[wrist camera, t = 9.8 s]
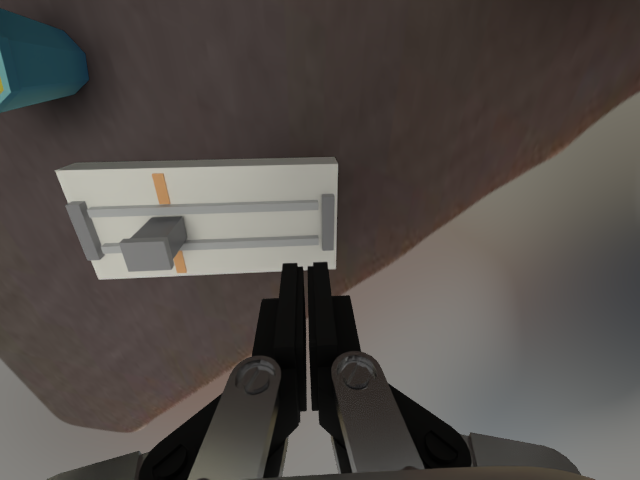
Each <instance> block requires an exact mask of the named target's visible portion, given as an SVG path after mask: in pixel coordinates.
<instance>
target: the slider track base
mask: <svg viewBox="0 0 640 480" xmlns="http://www.w3.org/2000/svg"><path fill="white" fill-rule="evenodd" d="M55 172H56V174H57V177H58V179H59V182H60V184H61V187H62V189H63V192H64V194H65V197H66V199H67V202H68V204H66V205H65V206H66V209H67V211H68V214H69V216H70V219H71V221H72V224H73V226H74V228H75V231H76V233H77V236H78V238H79V241H80V243H81V246H82V248H83V251H84V253H85V256H86V258H87V260H88V261H89V260H91V262H92V264H93V267H94V269H95V272H96V274H97V277H98V279H99V280H100V279H123V278H145V277H167V276H189V275H211V274H233V273H255V272H277V271H282V265H283V263H297V265H298V267H301V266H303V270H308V266H313V262H327V263H328V269H336V238H337V190H338V163H337V161H336V159H335V157H306V158H261V159H217V160H172V161H127V162H83V163H73V164H71V165H68V166H65V167H63V168H60V169H58V170H55ZM179 216H183V220H184V225H185V229H186V233H187V239H186V241H185V242H184V244H183V245H182V247H181V248H180V250H179V251H178V253H177V254H176V256H175V257H174V259H173V261H174V267H173V268H172V270H158V271H135V272H128V269H127V266H126V263H125V260H124V257H123V254H122V251H121V248H120V245H119V242H121V241H122V240H123V239H129V238H131V237H132V236H133V235H134V234H135V233H136V232H137V231H138V230H139V229H140V228H141V227H142V226H143V225H144V224H145V223H146V222H147V221H148V220H149V219H151V218H152V217H179Z"/></svg>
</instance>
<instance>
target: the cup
mask: <svg viewBox="0 0 640 480" xmlns="http://www.w3.org/2000/svg"><path fill="white" fill-rule="evenodd" d="M88 80H89V76H88V69H87V62H86V55H85V53H84V52H83V51H82V50H81V49H80V48H79V47H78V45H77V44H76V43H75V42H74V41H73V40H72V39H71V38H70V37H69V36H68V35H67V34H66V33H65V32H64V31H63V30H60V29H57V28H54V27H52V26H49V25H46V24H43V23H40V22H38V21H35V20H32V19H29V18H26V17H23V16H21V15H18V14H15V13H12V12H9V11H6V10H4V9H1V8H0V113H1V112H5V111H9V110H13V109H17V108H21V107H25V106H29V105H33V104H37V103H42V102H46V101H50V100H54V99H58V98H62V97H66V96H70V95H74V94H75V93H76V92H77V91H78V90H79V89H80V88H81V87H82V86H83V85H84V84H85V83H86V82H87V81H88Z"/></svg>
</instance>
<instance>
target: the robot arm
mask: <svg viewBox="0 0 640 480" xmlns="http://www.w3.org/2000/svg"><path fill="white" fill-rule="evenodd" d="M308 315H309V352H310V353H309V354H310V377H311V399H312V411H318V410H319V423H320V425H321V426H322V427H323V428H324V429H325V430H326V431H327V432H328V433H330V434H331V442H332V447H333V451H334V456H335V460H336V465H337V469H338V474H327V475H310V476H293V477H282V474H283V468H284V463H285V458H286V452H287V446H288V436H289V435H290V434H291V433H292V432H293V431H294V430H295V429H296V428H297V427H298V425H299V422H300V411H306V410H307V405H306V404H307V403H306V402H307V401H306V400H307V399H306V316H305V296H304V275H303V266H301V267H298V265H297V263H283V265H282V275H281V284H280V294H279V298H274V299H262V302H261V307H260V313H259V318H258V324H257V330H256V335H255V341H254V347H253V352H252V357H249V358H246V359H245V360H243V361H241V362H240V363H239V364H238V365H237V366H236V367H235V368H234V369H233V371H232V373H231V374H230V376H229V379H228V381H227V384H226V386H225V389H224V391H223V393H222V394H221V395H219V396H218V397H217V398H216V399H214V400H213V401H212V402H211V403H209V404H208V405H207V406H206V407H204V408H203V409H202V410H200V411H199V412H198V413H197V414H195V415H194V416H193V417H191V418H190V419H189V420H188V421H186V422H185V423H184V424H182V425H181V426H180V427H179V428H177V429H176V430H175V431H173V432H172V433H171V434H170V435H168V436H167V437H166V438H165V439H163V440H162V441H161V442H159V443H158V444H157V445H156V446H155V447H154V448H153V449H152V450H151V451H150V452H148V453H144V454H141V453H140V451H137V452H133V453H130V454H126V455H123V456H120V457H116V458H113V459H109V460H106V461H102V462H99V463H95V464H92V465H88V466H85V467H81V468H78V469H74V470H71V471H67V472H64V473H60V474H58V475H56V476H53V477H51V478H49V479H47V480H595V479H592V478H589V477H586V476H582V475H581V474H580V472H579V471H578V469H577V467H576V466H575V465H574V464H573V463H572V462H570V460H569V459H568V458H567V457H565V456H564V455H562V454H561V453H559V452H558V451H556V450H554V449H552V448H549V447H546V446H542V445H536V444H531V443H525V442H520V441H514V440H509V439H504V438H498V437H493V436H487V435H482V434H476V433H470V435H469V436H466V435H461V434H459V433H458V432H457V431H456V430H455V429H453V428H452V427H451V426H449V425H448V424H446V423H445V422H444V421H442V420H441V419H439V418H438V417H436V416H435V415H433V414H432V413H431V412H429V411H428V410H426V409H425V408H423V407H422V406H420V405H419V404H417V403H416V402H414V401H413V400H411V399H410V398H409V397H407V396H406V395H404V394H403V393H401V392H400V391H398V390H397V389H396V388H394V387H393V386H391V385H390V384H388V383H387V381H386V378H385V376H384V373H383V371H382V369H381V367H380V365H379V364H378V362H377V361H376V360H375V359H374V358H373V357H372V356H370V355H368V354H366V353H363V352H361V349H360V344H359V339H358V334H357V329H356V325H355V319H354V314H353V309H352V304H351V299H350V296H349V295H348V296H331V288H330V279H329V271H328V263H327V262H313V266H308Z"/></svg>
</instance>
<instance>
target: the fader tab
mask: <svg viewBox="0 0 640 480" xmlns="http://www.w3.org/2000/svg"><path fill="white" fill-rule="evenodd" d="M186 239H187V233H186V229H185V225H184V220H183V216H179V217H152V218H151V219H149V220H148V221H147V222H146V223H145V224H144V225H143V226H142V227H141V228H140V229H139V230H138V231H137V232H136V233H135V234H134V235H133V236H132V237H131V238H129V239H123V240H122V241H121V242H119V245H120V248H121V251H122V254H123V257H124V260H125V263H126V266H127V269H128V272H135V271H158V270H172V268H173V267H174V261H173V259H174V257H175V256H176V254H177V253H178V251H179V250H180V248H181V247H182V245H183V244H184V242H185V241H186Z"/></svg>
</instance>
